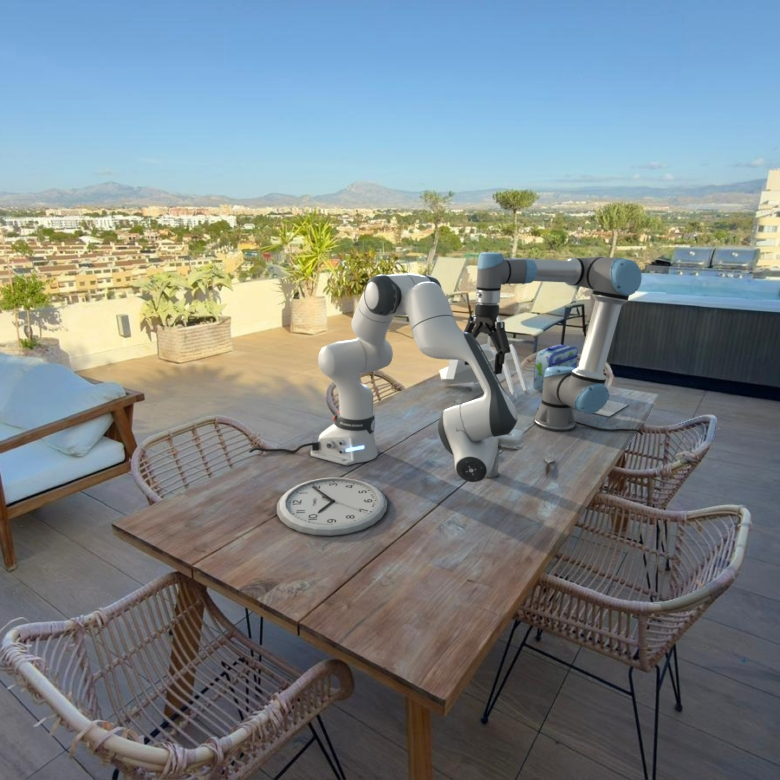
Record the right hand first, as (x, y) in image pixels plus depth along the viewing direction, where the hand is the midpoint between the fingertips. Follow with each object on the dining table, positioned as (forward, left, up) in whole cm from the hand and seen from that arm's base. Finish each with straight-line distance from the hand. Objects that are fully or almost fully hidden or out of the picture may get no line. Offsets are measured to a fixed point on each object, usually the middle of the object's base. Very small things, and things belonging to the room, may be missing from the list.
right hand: (482, 369), depth 170 cm
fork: (-22, +9, -29) cm, 38 cm away
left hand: (-1, +28, -9) cm, 29 cm away
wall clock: (+41, +43, -29) cm, 66 cm away
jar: (-3, +17, -29) cm, 34 cm away
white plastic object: (-4, -68, -29) cm, 74 cm away
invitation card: (-56, -56, -29) cm, 84 cm away
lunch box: (-39, -79, -29) cm, 93 cm away
